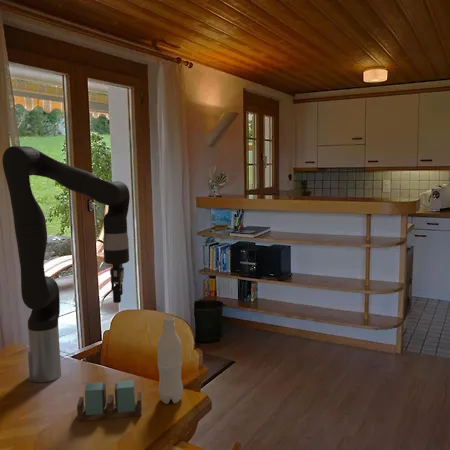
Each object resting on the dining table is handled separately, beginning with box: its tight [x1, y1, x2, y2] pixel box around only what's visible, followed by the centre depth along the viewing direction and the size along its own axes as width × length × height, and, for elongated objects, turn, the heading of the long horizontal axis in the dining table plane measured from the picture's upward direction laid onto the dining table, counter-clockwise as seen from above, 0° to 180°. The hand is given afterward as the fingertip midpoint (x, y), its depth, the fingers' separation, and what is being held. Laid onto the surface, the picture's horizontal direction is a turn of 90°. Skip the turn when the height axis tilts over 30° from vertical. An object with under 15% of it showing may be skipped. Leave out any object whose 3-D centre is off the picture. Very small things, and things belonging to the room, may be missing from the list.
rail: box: [76, 391, 143, 422], centre depth 132 cm, size 17×5×4 cm, turn 99°
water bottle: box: [156, 316, 184, 405], centre depth 138 cm, size 7×7×25 cm
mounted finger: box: [84, 381, 107, 415], centre depth 131 cm, size 5×4×7 cm
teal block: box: [114, 379, 136, 412], centre depth 132 cm, size 5×4×7 cm
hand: (118, 298), depth 147 cm, fingers open, 8 cm apart
